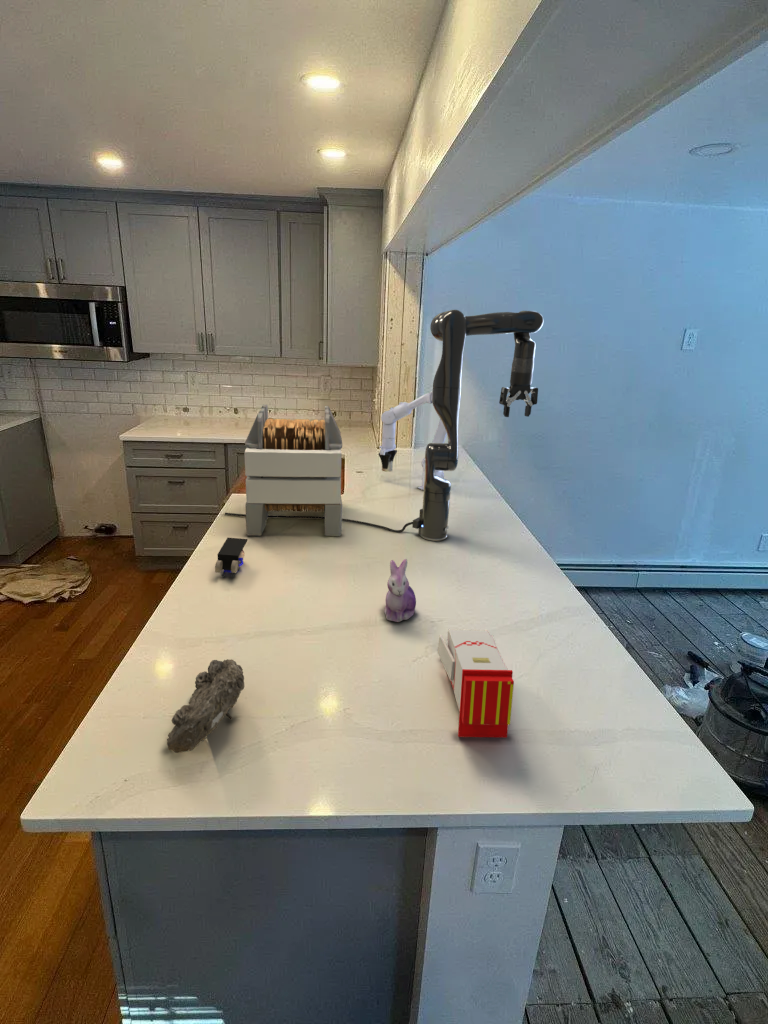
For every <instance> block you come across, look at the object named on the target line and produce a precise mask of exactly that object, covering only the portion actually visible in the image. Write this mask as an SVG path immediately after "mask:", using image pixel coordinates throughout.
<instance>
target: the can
mask: <svg viewBox="0 0 768 1024" xmlns="http://www.w3.org/2000/svg"><path fill="white" fill-rule="evenodd" d="M393 463H394V460H393V461H392V460H389V464H388V469H383V467H382V466H381V471H382V472H386V473H391V472H393V468H394V467H393V465H394V464H393Z"/></svg>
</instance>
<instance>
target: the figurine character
mask: <svg viewBox="0 0 768 1024" xmlns="http://www.w3.org/2000/svg"><path fill="white" fill-rule="evenodd" d="M247 542H248V538H240V537H226V539H225V541H224V543H223V544H222V546H221V547H220V549H219V551H218V552H217V560H216V562H215V564H214V572H215V573H221V577H222V578H224V577H225V576H226V574H227V573H230V574H231V573H232V574H231V578H234V577H235V575H236V573H237V572H239V571H240V567H242V566H243V565H244V564H245V562H244V558H245V551H244V547H245V546H246V544H247Z"/></svg>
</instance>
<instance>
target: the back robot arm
mask: <svg viewBox="0 0 768 1024" xmlns="http://www.w3.org/2000/svg"><path fill="white" fill-rule="evenodd" d="M425 404H433V403H432V391H430V392H426V393H424V394H422V395H421V396H419V397H417V398H415V399H414V400H412V401H410V402H407V401H400V402H398V404H397V405H396V406H394V407H393V406H392V407H390V408H389V409H388V410H385V411H384V412H382V413H381V415H380V420H381V422H382V432H381V433H382V435H381V445H379V447H378V448H379V452H378V457H379V459H380V461H381V468H382V467H383V469H388V464H389V460H392V461H393V462H394V459H395V457H396V454H397V453H398V450H397V449H396V448H397V444H396V430H397V429H396V425H397V424H396V423H397V421H400V420H402V419H403V418H405V417H408V416H409V415H411V414H412V411H413V410H414V409H417V408H418V407H421V406H422V405H425ZM446 439H447V432H446V429H445V427H444V425H443V423H442V421H441V419H440V418H439V421H438V424H437V427H436V430H435V433H434V435H433V439H432V442H431V443H445V442H446ZM421 466H422V473H421V485H420V486H419V485H418V486H417V487H416V488H417V489H419V490H421V491H424V477H425V457H423V458H422V460H421ZM435 474H436V475H437V476H439V477H441V478H444V479H445V471H435Z"/></svg>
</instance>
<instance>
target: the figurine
mask: <svg viewBox="0 0 768 1024" xmlns="http://www.w3.org/2000/svg"><path fill="white" fill-rule="evenodd" d="M407 567H408V559H406V558H404V559H403V560H402V561H401V563H400V565H399V566H398V565H397V563H396V562H395V561H394V560H393V559H391V560H390V561H389V570H390V576H389V578H388V579H387V589H388V591H387V592H386V594H385V595H386V596H385V607H384V615H385V616H386V620H387V621H391V622H395V623H400V622H402V621H406V620H409V619H410V618H411V617H413V616H414V615H415V610H416V606H417V597H416V593H415V591H414V590H413V587H411V586H410V582H409V579H408V577H407V574H406V571H407Z"/></svg>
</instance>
